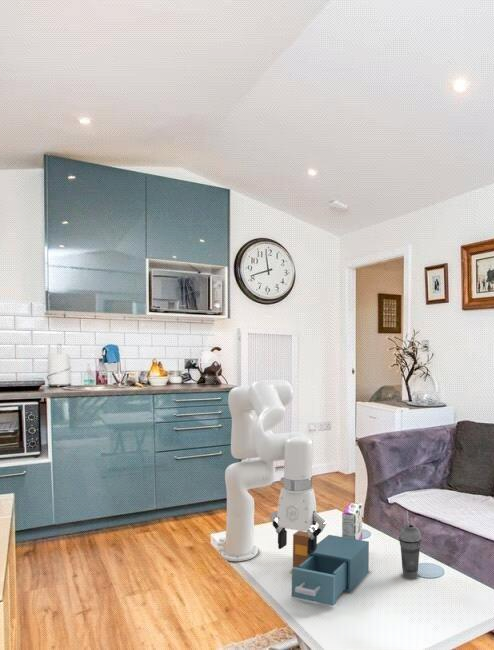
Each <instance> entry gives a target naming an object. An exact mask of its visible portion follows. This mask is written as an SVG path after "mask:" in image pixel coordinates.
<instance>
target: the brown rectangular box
mask: <svg viewBox="0 0 494 650" xmlns="http://www.w3.org/2000/svg"><path fill="white" fill-rule="evenodd" d="M309 538H310V537H309V535H308V533H307V531H299V530H296V532H294V533H293V535H292V568H293V567H297V568H299V565H301V564H302V563H303V562H304V561H305V560H307V559H308V539H309Z"/></svg>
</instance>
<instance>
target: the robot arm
mask: <svg viewBox="0 0 494 650" xmlns="http://www.w3.org/2000/svg"><path fill="white" fill-rule="evenodd" d="M293 399H294V388H293V387H292V385H291V383H290V382H289V381H288V380H286V379H262V380H257V381H255V382H253V383H251V384H250V385H240V386H235V387H233V388H232V389H230V391H229V393H228V397H227V404H228V410H229V413H230V417H231V434H230V435H231V436H230V453H231V456H232V457H233V458H234V459H237V460H243V459H244V461H237V462H233V463H230V464H229V465H227V467H226V469H225V471H224V481H225V482H224V483H225V489H226V518H225V519H226V521H225V537H222V536H221V537H219V539H218V541H217V546H219V547H222V549H221V551H220V558H221V559H223V560H225V561H228V562H243V561H248V560H250V559H253V558H255V557H256V556H257V555H258V553H259V548H258V547H257V545H255V544H254V543H255V499H254V497H253V496H252V495H251V494H250V493H249V492H248V491H249V490H251V489H252V490H253V489H258V488H263V487H264V488H265V487H268V486H270V485H272V484H273V483H274V481H275V477H276V464H277V463H276V462H280V461H283V463H284V464H283V468H284V469H283V477H280V480H279V481H280V483H283V487H282V488H281V489H280V492H279V496H278V503H277V510H275V511H273V512H272V513H270V514H269V518H270V521H271V523H272V526H273V528H274V529H275V532H276V534H277V545H278V546H277V547H278V550H281V549H284V547H286V546H287V543H288V542H287V541H288V539H287V538H288V531H287V529H288V530H292V531H293V530H294V531H303V532H307V533H308V535H309V537H310V538H309V539H308V554H310V555H311V554H312V553H313V552H314V551H315V550H316V548H317V544H318V536H319V535H320V534H321V533H322V532H323V531H324V529H325V527H326V525H327V521H326V520H325V519H323V517H321V516H320V515H319V514H318V513H317V499H316V494H315V489H314V488H313V441H312V439H311V437H308V436H305V434H304V433H302V432H301V431H290V432H277V433H276V432H275V433H274V432H273V431H272V430H271V429H273V428H275V427H276V426H278V425H279V424H281V423H282V422H283V420H284V419H285V417H286V408H285V407H286V406H288V405H289V404H291V403H292V401H293ZM254 412H255V413H254ZM254 458H255V459H254ZM256 458H259V459H256ZM246 459H252V460H246ZM253 459H254V460H253ZM317 524H318V527H316V525H317Z"/></svg>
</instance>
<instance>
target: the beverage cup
mask: <svg viewBox="0 0 494 650" xmlns="http://www.w3.org/2000/svg"><path fill="white" fill-rule="evenodd" d="M405 513H406V514H405V515H406V525H405V526H403V527H402V528H401V530H400V532H399V536H398V541H399V546H400V556H401V568H402V569H401V570H402V577H403V578H404V579H406V580H415V579H417V578H418V573H419V562H420V549H421V545H422V535H421V532H420V530H419V528H418V527H416V526H415V525H413V524H410V521H409V520H410V519H409V511H408V510H405Z"/></svg>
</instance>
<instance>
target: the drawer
mask: <svg viewBox="0 0 494 650" xmlns="http://www.w3.org/2000/svg"><path fill="white" fill-rule="evenodd" d="M347 586H348V562H347V561H342V560H337V559H332V558H326V557H321V556H316V555H312V556H310V557H309V558H308V559H307V560H305V561H304V562H303V563H302V564H301V565H299V568H297V567H293V566H292V568H291V597H292V598H298V599H300V600H301V599H302V600H306V601H309V602H314V603H317V604H321V605H322V604H323V605H327V606H332V607H334V606H335V604H336V599H338V597H339V596H340V595H341V594H342V593H343V592H344V590H345V589H346V587H347Z"/></svg>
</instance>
